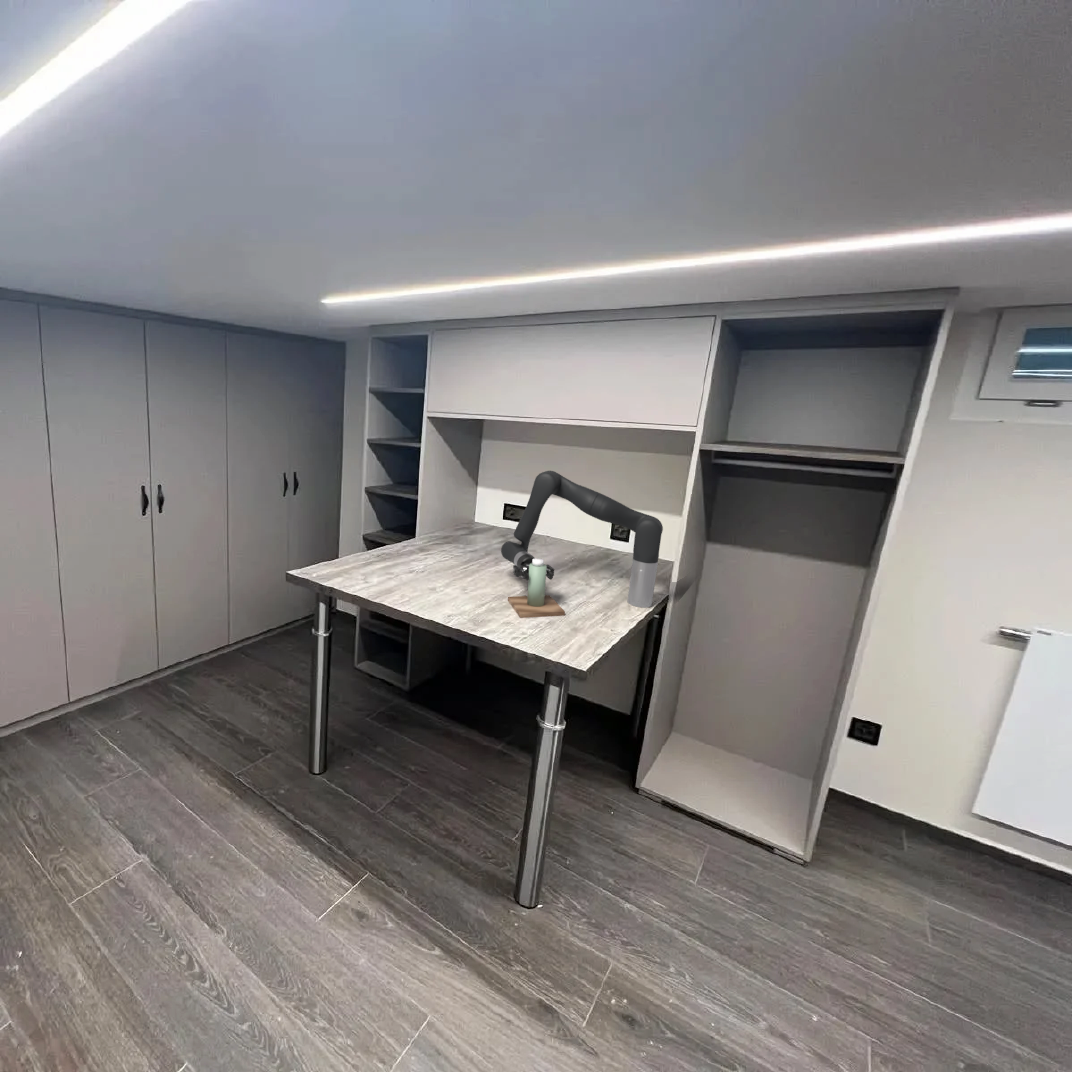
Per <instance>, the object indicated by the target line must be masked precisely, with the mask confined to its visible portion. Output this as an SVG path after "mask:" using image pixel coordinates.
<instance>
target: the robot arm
mask: <svg viewBox="0 0 1072 1072" xmlns="http://www.w3.org/2000/svg"><path fill="white" fill-rule="evenodd" d="M552 495H553V496H556V497H560V498H562V499H565V500H566V501H568V502H570V503H571V504H572V505H574V506H575V507H576V508H577V509H579V510H580V511H582V512H583V513H585V514H586V515H588V516H590V517H592V518H594V519H597V520H599V521H602V522H604V523H609V524H613V525H617V526H621V527H625V528H626V529H628V530H631V531H632V532H634V540H633V549H632V550H633V551H632V553H633V554H632V555H633V556H632V563H631V570H630V579H629V584H628V585H629V586H628V591H627V592H628V594H627V603H628V605H631V606H633V607H637V608H642V609H643V608H651V607H652V606H653V600H654V591H655V586H656V585H655V584H656V580H657V579H656V578H657V571H658V565H659V564H658V563H659V557H660V548H661V540H662V535H663V531H664V527H663V523H662V522H661V521H660V520H659V518H657V517H655V516H652V515H650V514H647V513H643V512H640V511H638V510H635V509H632V508H631V507H628V506H626V505H625V504H623V503H621V502H619V501H617V500H615V499H614V498H611V497H609V496H607V495H605V494H603V493H601V492H598V491H597V490H593V489H591V488H589V487H587V486H583V485H581V484H578V483H576V482H574V481H572V480H570V479H569V478H567V477H566V476H563V475H562V474H560V473H558V472H556V471H554V470H545V471H542V472H540V473H538V474H537V476H535V479H534V481H533V485H532V488H531V492H530V496H529V499H528V501H527V504H526V506H525V509H524V511H523V513H522V515H521V517H520V519H519V521H518V523H517V525H516V527H515V529H514V532H513V537H514V538H515V539H516V540H517V541H519V542H520V543H521V544H520V543H517V542H514V541H510V540H509V541H508V540H507V541H505V542H504V543H503V544H502V546H501V547H500V548H501V549H500V552H501V556H502V557H503V559H505V560H507V561H509V562H510V563H512V564H513V567H512V573H513V574H514V576H515V577H516V578H519V577H520V578H522V579H524V580H525V581H528V580H529V564H531V563H532V559H534V558H535V556H534V555H533V554H531V553H530V552H529V545H530V541H531V539H532V536H533V534H534V533H535V530H536V528H537V526H538V523H539V520H540V516H541V513H542V511H543V509H544V506H545V504H546V503H547V501H548V500H549V498H550V497H551V496H552ZM545 565H546V578H548V579H549V580H553V578H554V576H555V568H554V567H552V566H551V565H550V564H545Z"/></svg>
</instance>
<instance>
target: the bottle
mask: <svg viewBox="0 0 1072 1072" xmlns="http://www.w3.org/2000/svg"><path fill="white" fill-rule="evenodd" d="M546 565H547V564H545V559H544V558H539V557H537V558H536V557H534V559H532V563H531V564H529V580H527V581H528V582H527V595H526V596H527V604H528V605H530V606H535V607H538V606H543V605H544V597H545V594H546V583H547V582H546V579H547V576H546V574H547V573H546Z"/></svg>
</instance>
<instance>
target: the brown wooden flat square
mask: <svg viewBox="0 0 1072 1072" xmlns="http://www.w3.org/2000/svg"><path fill="white" fill-rule="evenodd" d="M527 596H528V595H519V596H518V595H517V596H515V595H513V596H507V602H508V603H509V605H510V606H511V607H512V609H513V610H514V611H515V613H516V614H517V616H518V618H519V619H525V618H541V617H542V618H543V617H559V616H560V617H562V616H563V617H564V616H566V611H565V610H564V608H562V606H560V604H559V603H558V602H556V600H555V599H554V598H553V597H552V596H551V595H549V594H546V595H545V597H544V605H543V606H538V607H535V606H530V605H528V604H527Z"/></svg>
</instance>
